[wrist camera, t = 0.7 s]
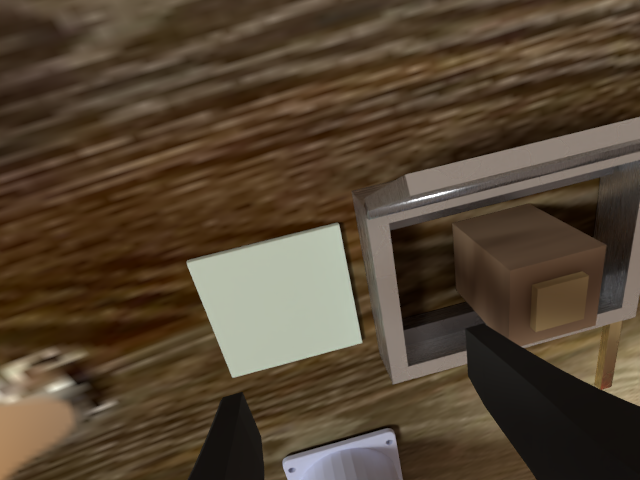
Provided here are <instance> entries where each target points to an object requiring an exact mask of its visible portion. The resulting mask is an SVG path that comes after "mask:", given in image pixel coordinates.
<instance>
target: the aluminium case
mask: <svg viewBox="0 0 640 480" xmlns="http://www.w3.org/2000/svg"><path fill="white" fill-rule="evenodd" d="M598 177H601V180H600V188H599V196H598V205H597V213H596V222H595V230H594V239H596V240H598V241H600V242H602V243H604V244H606V245H607V246H606V254H605V261H604V268H603V276H602V283H601V290H600V297H599V305H598V312H597V319H596V326H592V327H588V328H585V329H581V330H578V331H574V332H571V333H567V334H563V335H560V336H556V337H553V338H549V339H545V340H542V341H538V342H535V343H531V344H527V345H524V346H521V347H522V348H525V347H529V346H533V345H536V344H540V343H543V342H547V341H551V340H554V339H558V338H561V337H565V336H569V335H572V334H576V333H579V332H583V331H587V330H590V329H594V328H597V327H601V326H605V325H608V324H612V323H615V322H619V321H622V320H626V319H630V318H633V317H635V316H636V310H637V305H638V300H639V294H640V152H637V153H633V154H629V155H625V156H621V157H617V158H613V159H609V160H605V161H601V162H597V163H593V164H589V165H585V166H581V167H577V168H573V169H569V170H565V171H561V172H557V173H553V174H549V175H545V176H541V177H537V178H533V179H529V180H525V181H522V182H518V183H514V184H510V185H506V186H502V187H498V188H494V189H490V190H486V191H482V192H478V193H474V194H470V195H466V196H462V197H458V198H454V199H450V200H446V201H442V202H438V203H434V204H430V205H426V206H422V207H418V208H414V209H410V210H406V211H402V212H399V213H395V214H391V215H387V216H383V217H379V218H375V219H371V220H368V218H367V216H366V213H365V208H364V203H365V200H364V198H366V197H367V196H369V195H371V194H373V193H374V192H376V191H378V190H380V189H381V188H383V187H385V186H387V185H388V184H390V183H392V182H393V181H391V182H387V183H383V184H379V185H375V186H371V187H367V188H363V189H359V190H355V191H352V195H353V201H354V207H355V213H356V219H357V224H358V230H359V236H360V242H361V248H362V253H363V259H364V265H365V271H366V276H367V282H368V288H369V294H370V300H371V305H372V311H373V317H374V323H375V329H376V334H377V340H378V346H379V352H380V355H381V358H382V360H383V362H384V364H385V367H386V369H387V371H388V374H389V376H390V378H391V380H392V383H393V384H396V383H399V382H403V381H407V380H410V379H414V378H417V377H421V376H425V375H428V374H432V373H435V372H439V371H443V370H446V369H450V368H453V367H457V366H461V365H464V364H467V350H466V336H465V328H469V327H472V326H476V325H479V324H483V323H484V324H485V325H487V324H486V323H485V322H484V321H483V320H482V319H481V317H480V316H479V315H478V314H477V313H476V312H475V311H474V310H473V308H472V307H471V306H470V305H469V304H468V303H467V302H465V303H461V304H457V305H453V306H450V307H446V308H442V309H438V310H435V311H431V312H427V313H424V314H420V315H416V316H412V317H409V318H405V319H402V317H401V310H400V302H399V295H398V287H397V280H396V272H395V265H394V257H393V250H392V243H391V235H390V230H394V229H398V228H402V227H406V226H410V225H414V224H418V223H421V222H425V221H429V220H433V219H437V218H441V217H445V216H449V215H453V214H457V213H461V212H465V211H469V210H473V209H476V208H480V207H484V206H488V205H492V204H496V203H500V202H504V201H508V200H512V199H516V198H520V197H524V196H528V195H532V194H535V193H539V192H543V191H547V190H551V189H555V188H559V187H563V186H567V185H571V184H575V183H579V182H583V181H587V180H590V179H594V178H598ZM487 326H488V325H487Z"/></svg>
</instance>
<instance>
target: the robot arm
mask: <svg viewBox="0 0 640 480" xmlns="http://www.w3.org/2000/svg"><path fill="white" fill-rule="evenodd" d="M465 336H466V350H467V365H468V376H469V378H470V380H471V382H472V384H473V386H474V388H475V389H476V391H477V393H478V395H479V397H480V398H481V400H482V402H483V404H484V405H485V407H486V408H487V410H488V411H489V413H490V414H491V416H492V417H493V418H494V420H495V421H496V423H497V424H498V425H499V427H500V428H501V430H502V431H503V432H504V434H505V435H506V437H507V438H508V439H509V441H510V442H511V444H512V445H513V446H514V448H515V449H516V451H517V452H518V453H519V455H520V456H521V458H522V459H523V460H524V462H525V463H526V464H527V466H528V467H529V469H530V470H531V472H532V473H533V475H534V476H535V478H536V479H537V480H640V406H637V405H635V404H632V403H630V402H627V401H625V400H623V399H621V398H618V397H616V396H614V395H612V394H609V393H607V392H605V391H603V390H600V389H598V388H596V387H594V386H592V385H590V384H588V383H586V382H584V381H582V380H580V379H578V378H576V377H574V376H572V375H570V374H568V373H566V372H564V371H562V370H561V369H559V368H557V367H555V366H553V365H552V364H550V363H548V362H546V361H545V360H543V359H541V358H539V357H538V356H536V355H534V354H532V353H531V352H529V351H527V350H526V349H524V348H522V347H521V346H519V345H518V344H516V343H514V342H513V341H511V340H509V339H508V338H506V337H505V336H503V335H501V334H500V333H498V332H497V331H495V330H493V329H492V328H490V327H489V326H487V325H485V324H484V323H483V324H479V325H476V326H472V327H469V328H465ZM283 468H284V471H285V473H286V476H287V479H288V480H403V477H402V471H401V466H400V460H399V454H398V448H397V442H396V436H395V433H394V431H393V429H391V428H386V429H382V430H379V431H375V432H372V433H368V434H364V435H361V436H357V437H354V438H350V439H347V440H343V441H340V442H336V443H333V444H329V445H326V446H322V447H319V448H315V449H312V450H308V451H305V452H301V453H298V454H294V455H291V456H287V457H286V458H284V459H283ZM188 480H264V462H263V451H262V442H261V435H260V433H259V431H258V428H257V426H256V423H255V421H254V419H253V416H252V414H251V411H250V409H249V407H248V404H247V402H246V399H245V397H244V395H243V392H241V393H237V394H234V395H230V396H227V397H223V398H222V400H221V402H220V404H219V407H218V410H217V412H216V415H215V418H214V420H213V423H212V425H211V428H210V430H209V433H208V435H207V438H206V440H205V443H204V445H203V447H202V449H201V452H200V454H199V456H198V459H197V461H196V463H195V465H194V468H193V470H192V472H191V474H190V476H189V478H188Z"/></svg>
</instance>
